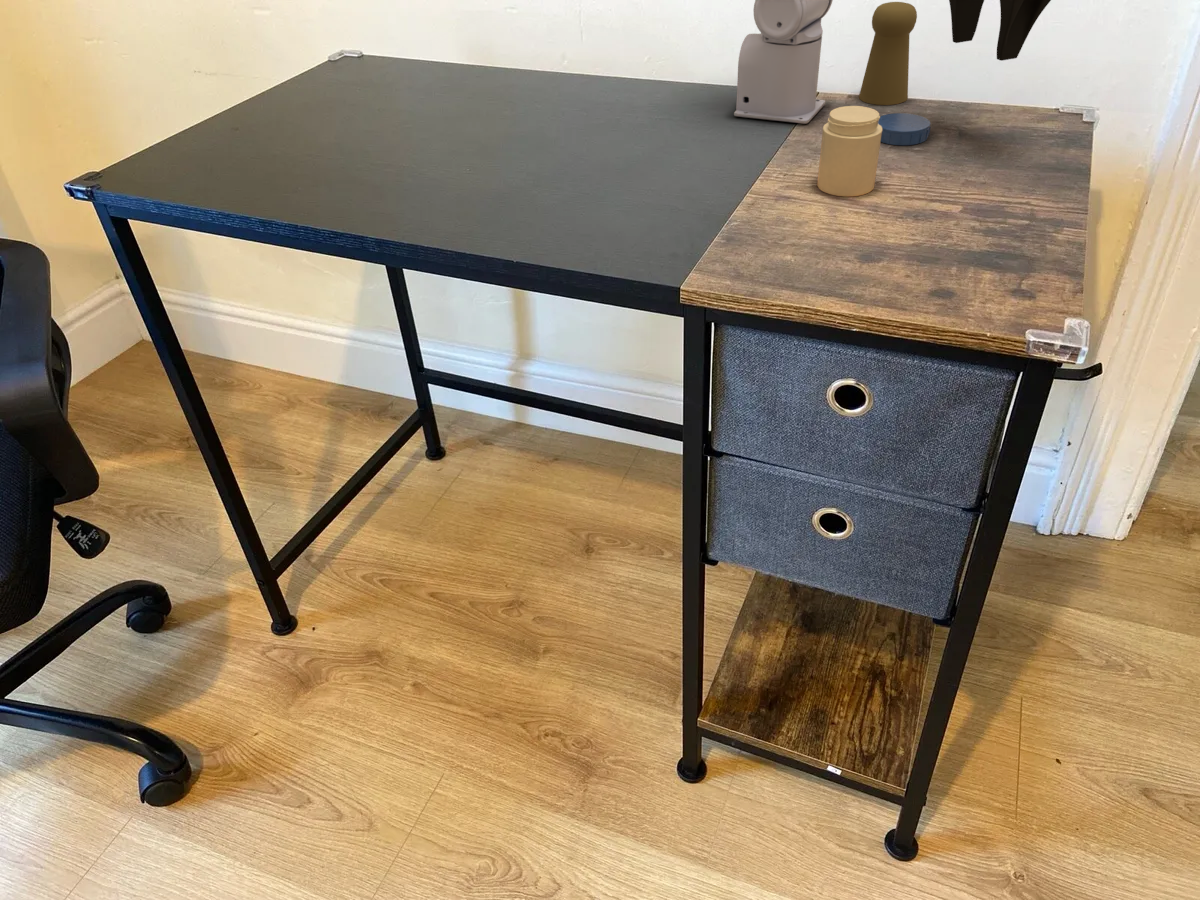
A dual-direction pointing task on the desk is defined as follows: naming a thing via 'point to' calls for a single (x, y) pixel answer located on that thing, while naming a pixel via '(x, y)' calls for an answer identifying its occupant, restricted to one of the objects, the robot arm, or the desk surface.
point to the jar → (849, 151)
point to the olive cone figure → (889, 55)
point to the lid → (904, 129)
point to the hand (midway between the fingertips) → (983, 49)
